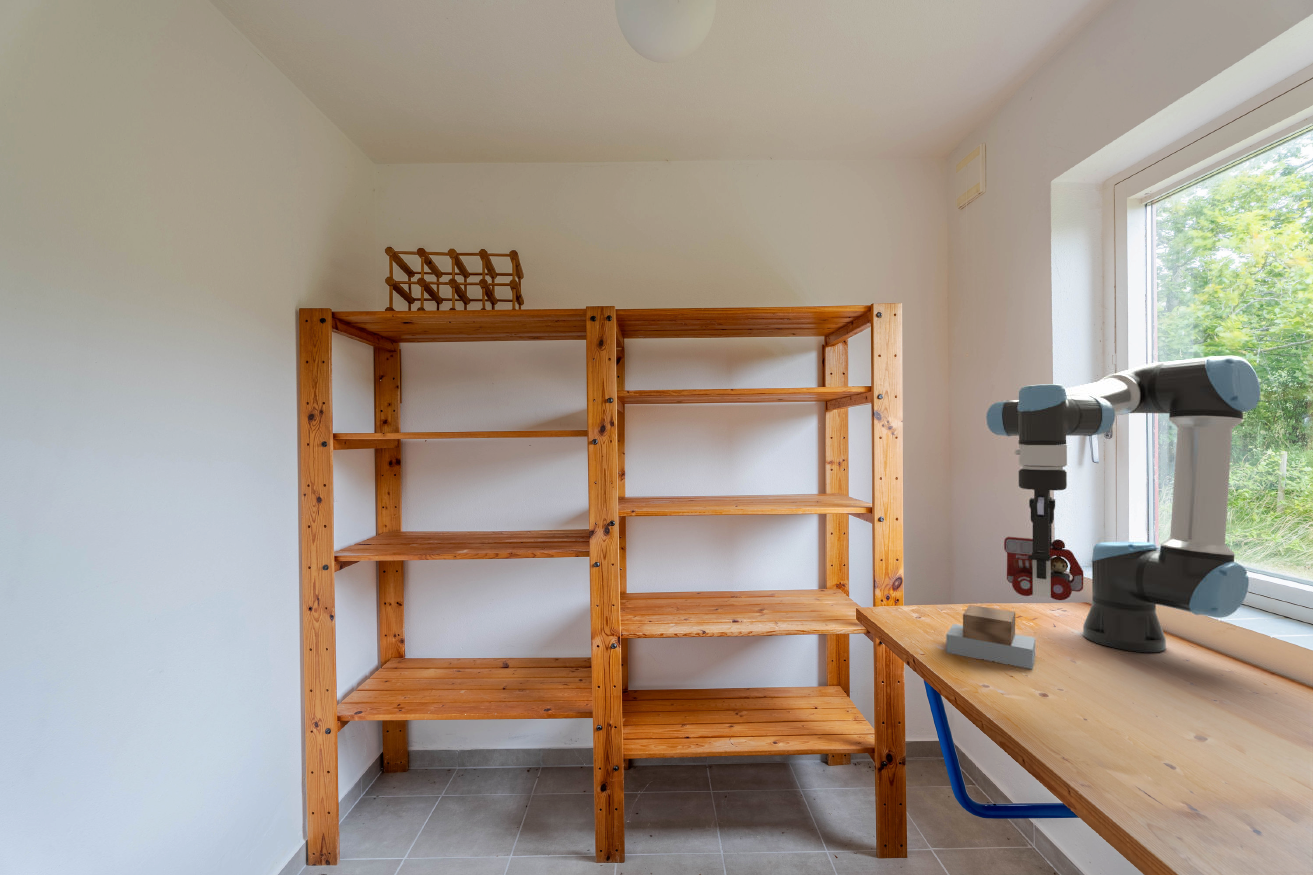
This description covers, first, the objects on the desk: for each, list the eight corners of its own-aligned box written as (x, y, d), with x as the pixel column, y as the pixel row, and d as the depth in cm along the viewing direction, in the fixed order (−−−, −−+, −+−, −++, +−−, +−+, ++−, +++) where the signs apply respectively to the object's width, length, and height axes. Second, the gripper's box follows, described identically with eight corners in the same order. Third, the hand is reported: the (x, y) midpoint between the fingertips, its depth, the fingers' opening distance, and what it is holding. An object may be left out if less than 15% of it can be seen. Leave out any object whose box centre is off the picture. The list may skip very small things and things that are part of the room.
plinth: (1035, 656, 128) (1035, 637, 128) (1032, 669, 121) (1032, 649, 121) (953, 641, 138) (953, 623, 138) (946, 652, 130) (946, 634, 130)
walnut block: (1015, 634, 130) (1015, 611, 130) (1011, 645, 123) (1011, 621, 123) (969, 626, 136) (969, 604, 136) (962, 637, 128) (963, 614, 128)
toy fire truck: (1084, 603, 104) (1083, 544, 104) (1002, 593, 111) (1002, 538, 111) (1083, 594, 110) (1082, 538, 110) (1005, 585, 117) (1005, 533, 117)
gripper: (1022, 465, 121) (1023, 577, 121) (1013, 470, 105) (1014, 600, 105) (1067, 465, 116) (1068, 582, 116) (1065, 471, 100) (1066, 607, 100)
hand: (1042, 590), depth 111 cm, fingers closed on toy fire truck, 7 cm apart
